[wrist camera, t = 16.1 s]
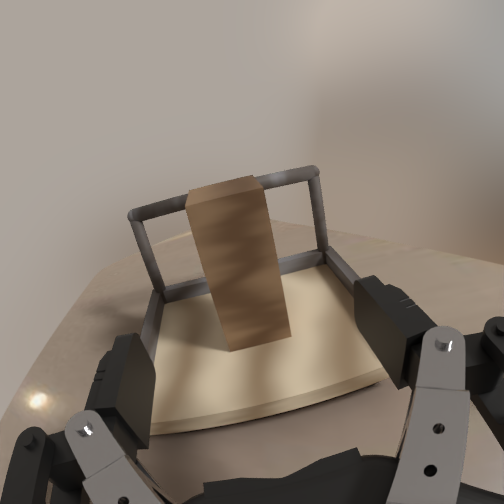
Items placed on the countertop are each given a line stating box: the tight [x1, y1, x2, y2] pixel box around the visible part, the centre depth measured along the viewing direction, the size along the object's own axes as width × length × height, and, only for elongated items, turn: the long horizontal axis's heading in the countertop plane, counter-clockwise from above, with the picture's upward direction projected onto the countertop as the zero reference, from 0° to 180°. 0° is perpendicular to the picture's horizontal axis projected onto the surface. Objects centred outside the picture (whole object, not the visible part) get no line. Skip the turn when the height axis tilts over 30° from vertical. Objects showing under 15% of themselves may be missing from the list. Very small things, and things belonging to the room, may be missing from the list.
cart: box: [128, 165, 389, 435], centre depth 25 cm, size 20×17×14 cm
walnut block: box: [185, 175, 292, 352], centre depth 24 cm, size 5×5×12 cm
